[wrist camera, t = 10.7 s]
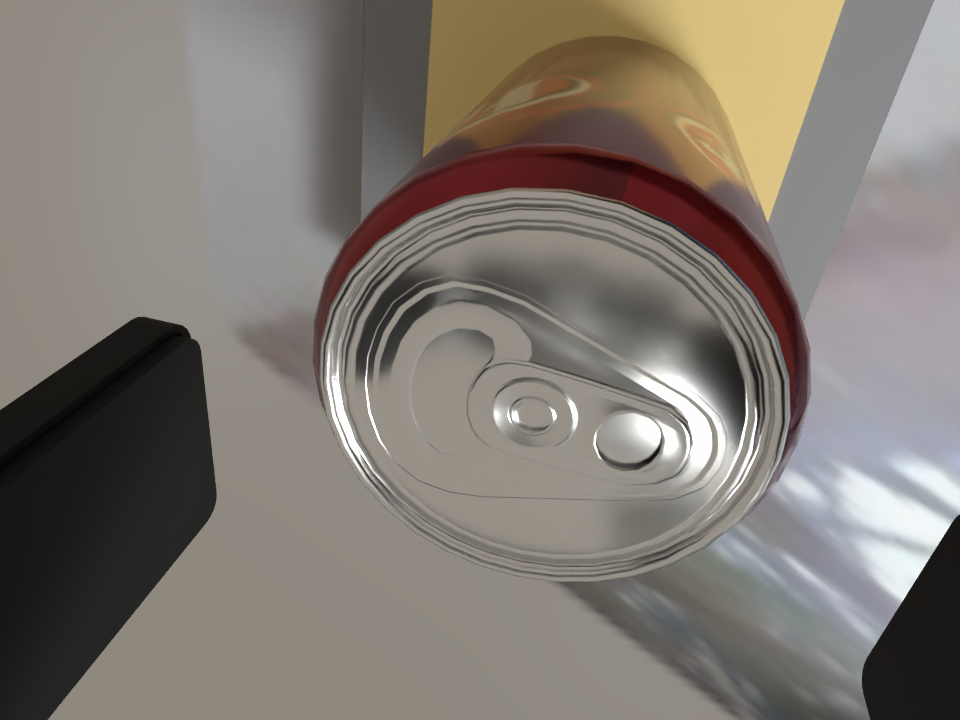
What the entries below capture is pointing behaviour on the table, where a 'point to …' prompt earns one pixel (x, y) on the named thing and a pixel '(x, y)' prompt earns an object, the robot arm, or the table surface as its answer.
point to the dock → (699, 43)
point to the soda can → (569, 325)
